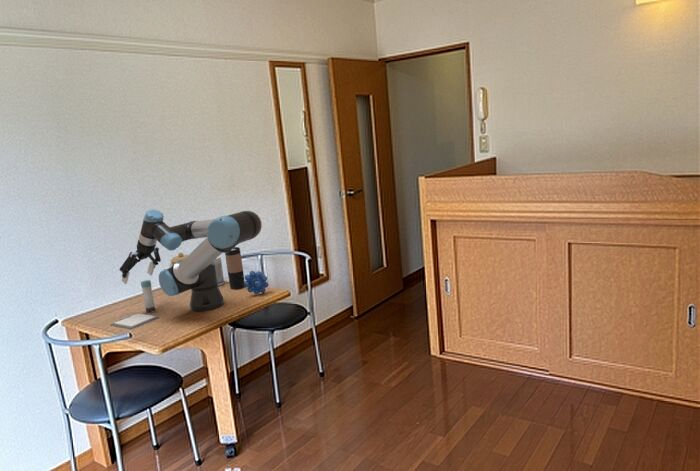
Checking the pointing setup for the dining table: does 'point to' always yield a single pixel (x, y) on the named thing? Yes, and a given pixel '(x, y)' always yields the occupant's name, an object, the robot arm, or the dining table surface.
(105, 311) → the dining table surface
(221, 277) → the supplement tub
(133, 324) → the light grey flat square
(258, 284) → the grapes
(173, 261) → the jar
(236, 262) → the travel mug
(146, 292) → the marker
